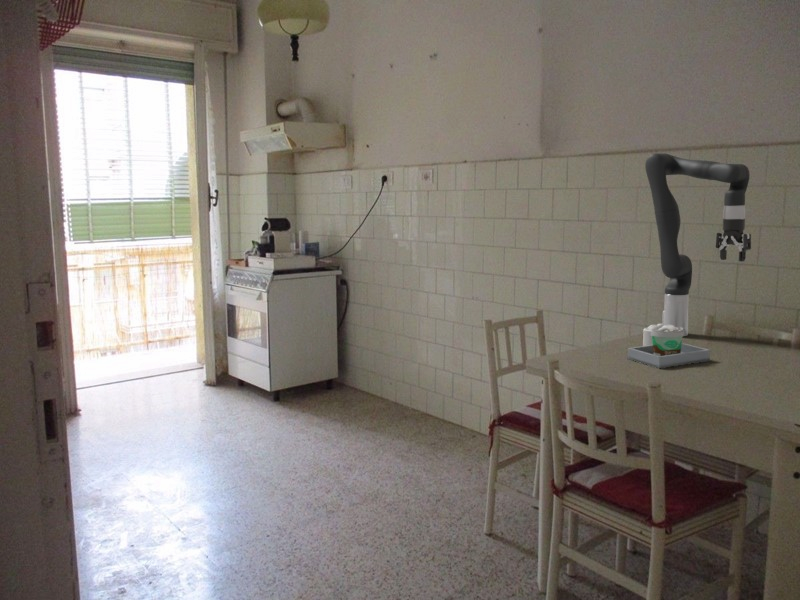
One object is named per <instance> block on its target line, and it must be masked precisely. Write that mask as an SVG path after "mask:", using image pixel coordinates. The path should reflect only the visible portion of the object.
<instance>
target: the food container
mask: <svg viewBox="0 0 800 600" xmlns="http://www.w3.org/2000/svg"><path fill="white" fill-rule="evenodd" d="M684 335H685V333H684V330H683V328H681V327H680V330H663V331H657V330H652V331H651V336H652V341H653V353H654V355H657V356H665V355H672V354H679V353H681V345H682V343H683V337H685V336H684Z"/></svg>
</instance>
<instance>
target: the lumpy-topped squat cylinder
mask: <svg viewBox="0 0 800 600" xmlns="http://www.w3.org/2000/svg"><path fill="white" fill-rule="evenodd" d="M652 330H657V331H663V330H678V328H676V327H675V326H673V325H664V324H662V323H657V324H650V325H649V326H648V327H644V328H643V331H642V334H643V335H642V346H648V345H653V341H652V336H651V331H652Z"/></svg>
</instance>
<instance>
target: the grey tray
mask: <svg viewBox="0 0 800 600" xmlns="http://www.w3.org/2000/svg"><path fill="white" fill-rule="evenodd" d="M628 358H629V359H632V360H634V361H633V362H635V361H638V362H637V363H639V362H641V363H640V364H642V363H644V364H643V365H645V364H647V365H646V366H648V365H650V366H649V367H652V366H653V368H655V367H656V368H655V369H658V368H661V369H666V368H665V367H668V368H671V367H670V366H674V367H678V365H681V366H685V365H684V364H688V365H692V364H691V363H694V364H699V362H701V363H706V362H710V361H711V349H709V348H705V347H704V348H703V347H700V346H696V345H691V344H688V343H684V342H682V345H681V353H679V354H672V355H665V356H657V355H654V353H653V345H648V346H643V345H642V346H640V345H639V346H633V347H628V348H627V359H628ZM629 359H628V360H629ZM632 360H631V361H632Z"/></svg>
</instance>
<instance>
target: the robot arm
mask: <svg viewBox="0 0 800 600" xmlns="http://www.w3.org/2000/svg"><path fill="white" fill-rule="evenodd" d="M644 166H645V172H646V173H645V174H646V176H647V180H648V183H649V187H650V191H651V192H650V194H651V198H652V201H653V202H652V203H653V204H652V205H653V208H654V216H655V217H654V218H655V222H656V227H657V228H656V229H657V234H658V241H659V248H660V249H659V250H660V266H661V271H662V274H664V275H665V277H667V278H668V279H669V282H668V283H667V285H666V286H665V287H664V305H663V306H664V310H662V317H661V318H662V322H661V324H664V325H673V326H675V327H676V328H678V330H680V327H681V328H683V330H684V333H685V335H684V336H683V337H688V336H689V335H688V333H689V302H690V301H689V299H690V298H689V297H690V296H689V295H690V294H689V293H690V289H691V287H692V276H693V264H692V263H693V262H692V260H691V258H690V257H689V256H687V255H686V254H680V252H679V248H678V238H679V234H680V228H681V214H680V207H679V205H678V203H677V201H676V198H675V197H674V195H673V193H672V192H671V190H670V188H669V186H668V181H667V176H674V175H677V176H678V175H679V176H681V175H682V176H687V177H692V178H696V179H699V180H708V181H717V182H721V183H727V184H729V188H728V190H726V191H725V192H724V199H723V200H724V201H723V212H722V231H723V232H717V233H716V239H715V248H716V249H719V258H720V260H721V261H724V260H727V253H728V252H727V251H728V250H727V249H728V248H729V247H730V245H733V246H735V247H736V248H737V249H738V250H739V251H738V262H745V260H746V256H747V255H746V253H747V251H751V249H752V235H751V233H744V231H745V228H746V206H745V205H746V192H747V188H748V185H749V181H750V175H751V174H750V170H749V167H748V166H747V165H746V164H742V163H725V162H724V163H721V162H718V161H714V160H713V161H712V160H702V159H701V160H700V159H687V158H681V157H678V156H675V155H671V154H669V153H662V152H660V153H659V152H658V153H655V152H654V153H651V154H650V155H649V156H648V157H647V158H646V160H645V164H644Z"/></svg>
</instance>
